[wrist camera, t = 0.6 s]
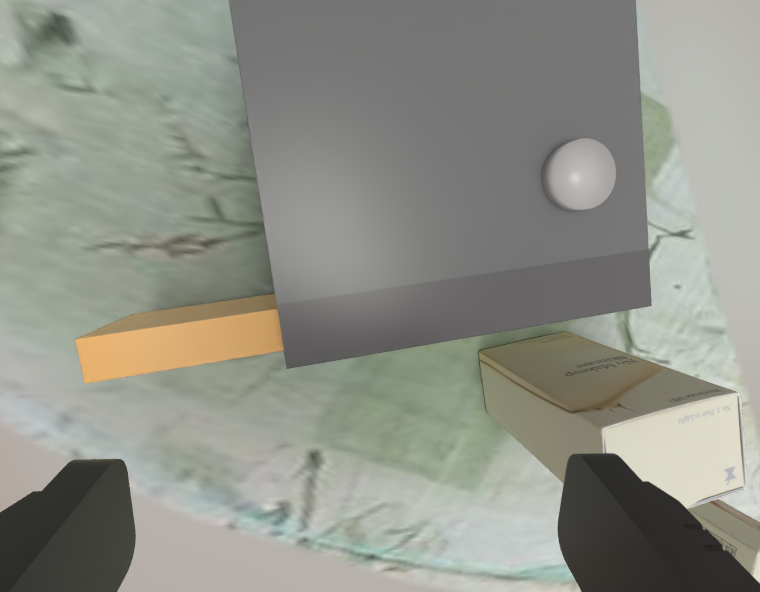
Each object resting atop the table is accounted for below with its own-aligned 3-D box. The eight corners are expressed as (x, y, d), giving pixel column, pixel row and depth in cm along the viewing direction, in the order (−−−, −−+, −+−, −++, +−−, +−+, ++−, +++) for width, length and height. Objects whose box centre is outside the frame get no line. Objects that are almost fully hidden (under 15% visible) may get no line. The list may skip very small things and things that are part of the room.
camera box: (252, 93, 25) (221, -36, 14) (518, 74, 28) (682, -48, 16) (287, 318, 27) (286, 375, 15) (535, 280, 29) (696, 303, 18)
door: (143, 308, 24) (63, 344, 16) (458, 263, 27) (538, 272, 18) (149, 339, 24) (73, 391, 16) (461, 291, 27) (541, 312, 19)
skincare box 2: (649, 535, 33) (802, 658, 23) (594, 529, 32) (730, 655, 22) (668, 464, 33) (831, 558, 23) (613, 456, 32) (759, 551, 22)
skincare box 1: (565, 329, 30) (747, 384, 18) (573, 395, 31) (754, 491, 19) (473, 351, 29) (601, 424, 17) (483, 419, 30) (614, 535, 18)
